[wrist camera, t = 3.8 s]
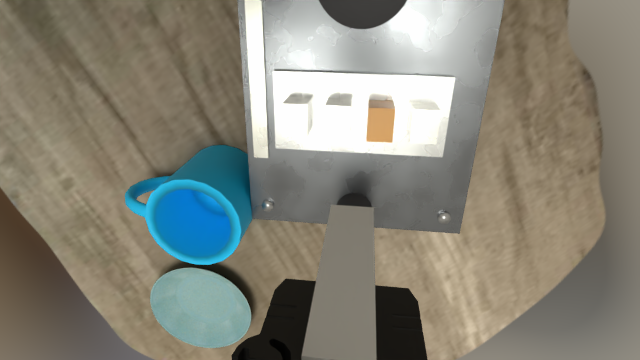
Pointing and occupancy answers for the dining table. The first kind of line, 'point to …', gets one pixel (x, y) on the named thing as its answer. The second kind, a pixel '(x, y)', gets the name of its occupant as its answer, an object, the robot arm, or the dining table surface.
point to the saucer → (200, 307)
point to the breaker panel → (365, 109)
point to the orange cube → (380, 121)
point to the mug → (198, 205)
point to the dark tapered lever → (362, 12)
